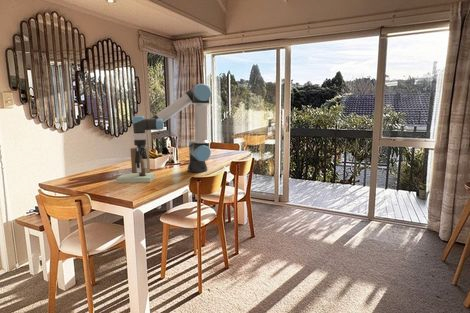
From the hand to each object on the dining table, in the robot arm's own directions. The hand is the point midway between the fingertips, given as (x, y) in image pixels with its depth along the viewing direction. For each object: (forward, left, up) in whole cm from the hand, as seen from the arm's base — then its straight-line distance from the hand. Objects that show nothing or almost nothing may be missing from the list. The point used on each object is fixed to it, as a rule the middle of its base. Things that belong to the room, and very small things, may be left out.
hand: (142, 170), depth 204 cm
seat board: (+4, 0, -7) cm, 8 cm away
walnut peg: (0, 0, -7) cm, 7 cm away
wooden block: (+6, -18, -7) cm, 20 cm away
